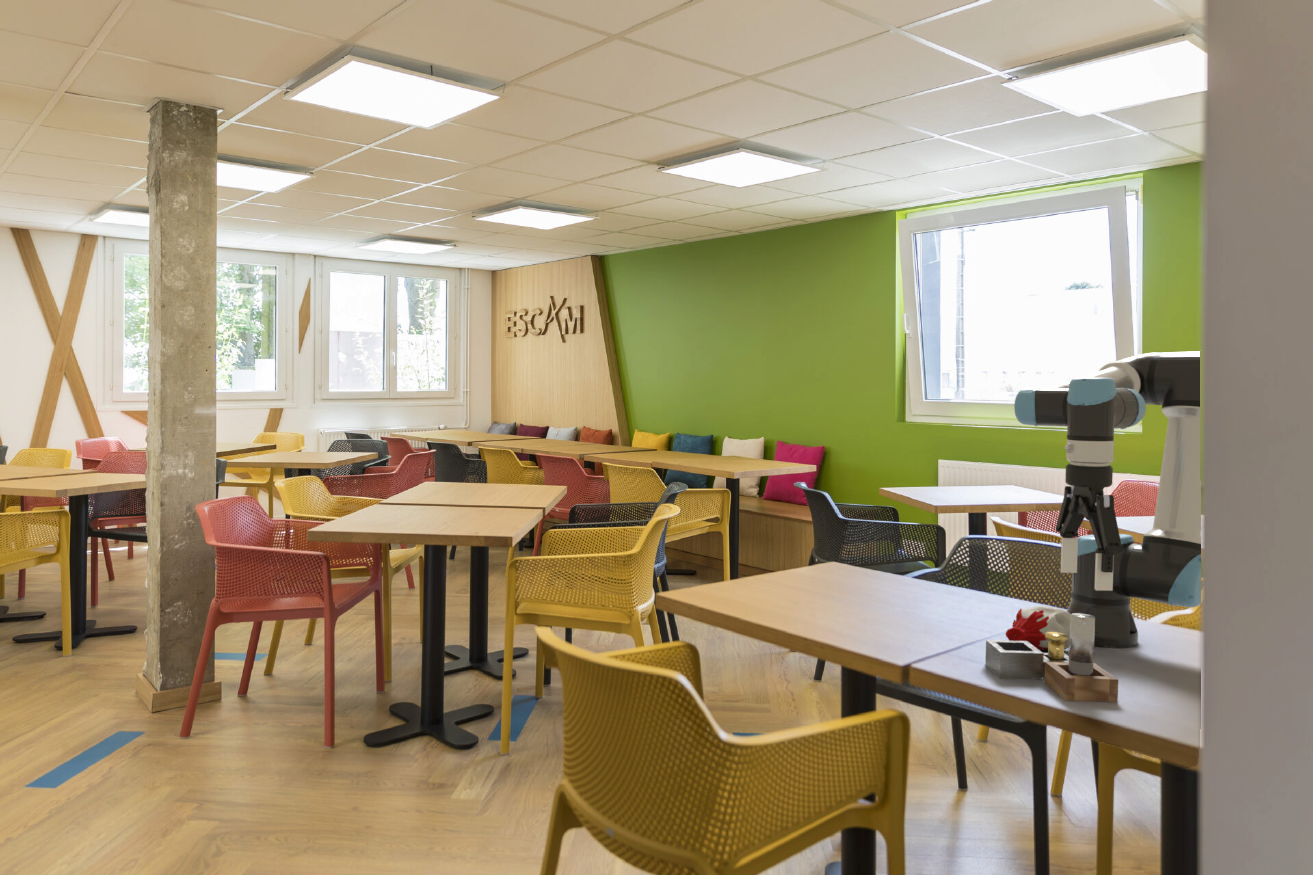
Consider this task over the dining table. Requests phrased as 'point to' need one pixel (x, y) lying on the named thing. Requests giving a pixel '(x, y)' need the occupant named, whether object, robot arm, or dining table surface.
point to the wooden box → (1081, 683)
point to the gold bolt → (1056, 645)
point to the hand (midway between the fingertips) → (1085, 580)
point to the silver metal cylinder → (1081, 644)
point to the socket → (1016, 659)
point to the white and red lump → (1039, 625)
